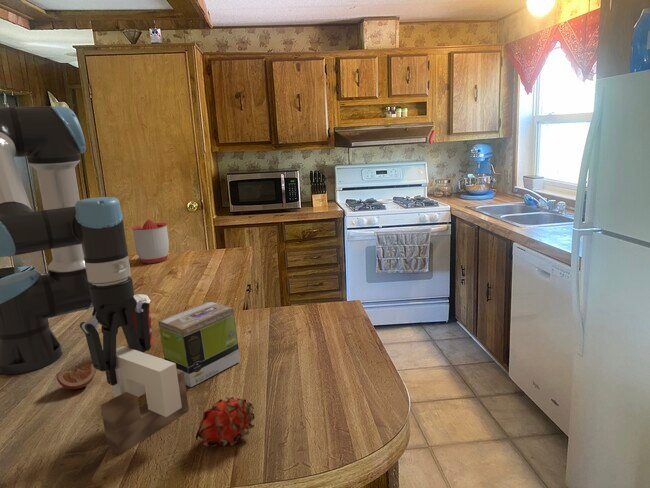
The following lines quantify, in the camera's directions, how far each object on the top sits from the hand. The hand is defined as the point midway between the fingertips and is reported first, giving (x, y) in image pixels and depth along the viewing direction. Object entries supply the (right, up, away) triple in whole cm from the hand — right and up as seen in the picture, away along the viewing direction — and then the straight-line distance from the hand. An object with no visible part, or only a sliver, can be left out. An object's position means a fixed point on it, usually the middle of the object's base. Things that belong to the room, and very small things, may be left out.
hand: (129, 392), depth 94 cm
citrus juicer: (-43, +21, +130) cm, 139 cm away
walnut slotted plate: (+5, -7, -1) cm, 8 cm away
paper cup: (-12, +1, +36) cm, 38 cm away
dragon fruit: (+21, -7, -6) cm, 23 cm away
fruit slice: (-18, -4, +16) cm, 25 cm away
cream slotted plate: (+5, -1, -3) cm, 6 cm away
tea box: (+9, -1, +21) cm, 23 cm away
